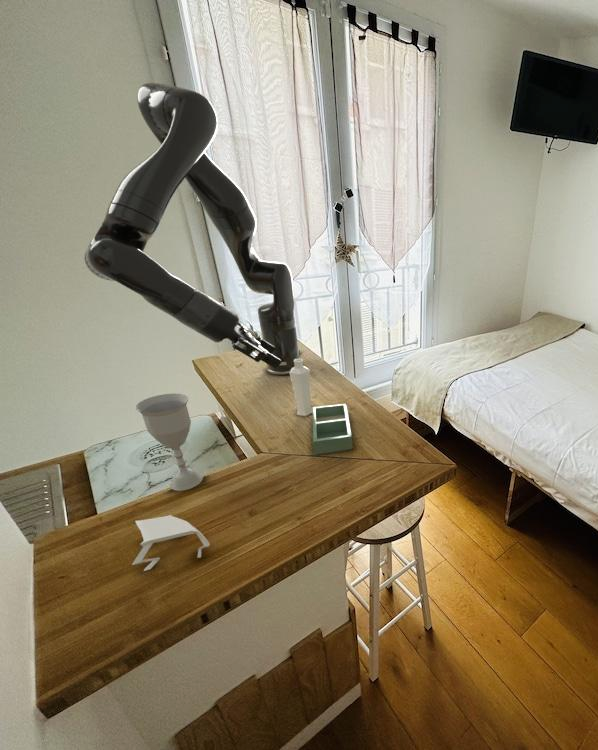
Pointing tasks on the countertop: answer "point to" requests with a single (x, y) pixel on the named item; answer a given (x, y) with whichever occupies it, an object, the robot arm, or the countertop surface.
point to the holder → (331, 429)
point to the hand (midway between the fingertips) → (275, 357)
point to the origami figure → (164, 535)
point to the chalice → (171, 432)
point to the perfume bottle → (301, 387)
